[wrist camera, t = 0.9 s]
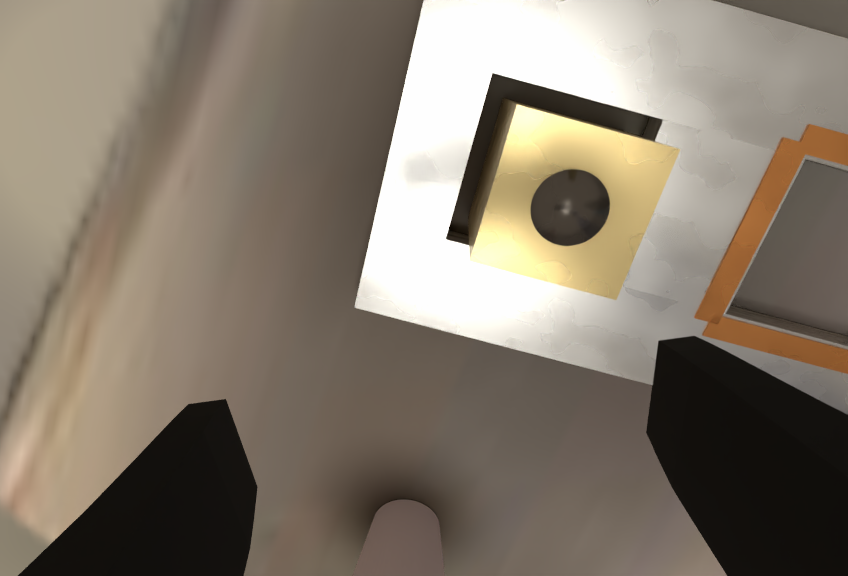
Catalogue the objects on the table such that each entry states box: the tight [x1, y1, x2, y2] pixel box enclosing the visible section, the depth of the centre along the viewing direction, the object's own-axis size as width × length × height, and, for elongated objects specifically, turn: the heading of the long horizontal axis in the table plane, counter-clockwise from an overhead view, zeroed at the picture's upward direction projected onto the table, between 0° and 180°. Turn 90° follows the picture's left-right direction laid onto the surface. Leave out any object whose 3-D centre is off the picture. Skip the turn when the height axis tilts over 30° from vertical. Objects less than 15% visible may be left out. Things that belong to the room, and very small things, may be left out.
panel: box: [355, 0, 848, 414], centre depth 22 cm, size 24×14×2 cm, turn 76°
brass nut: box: [468, 98, 680, 300], centre depth 19 cm, size 5×5×6 cm
